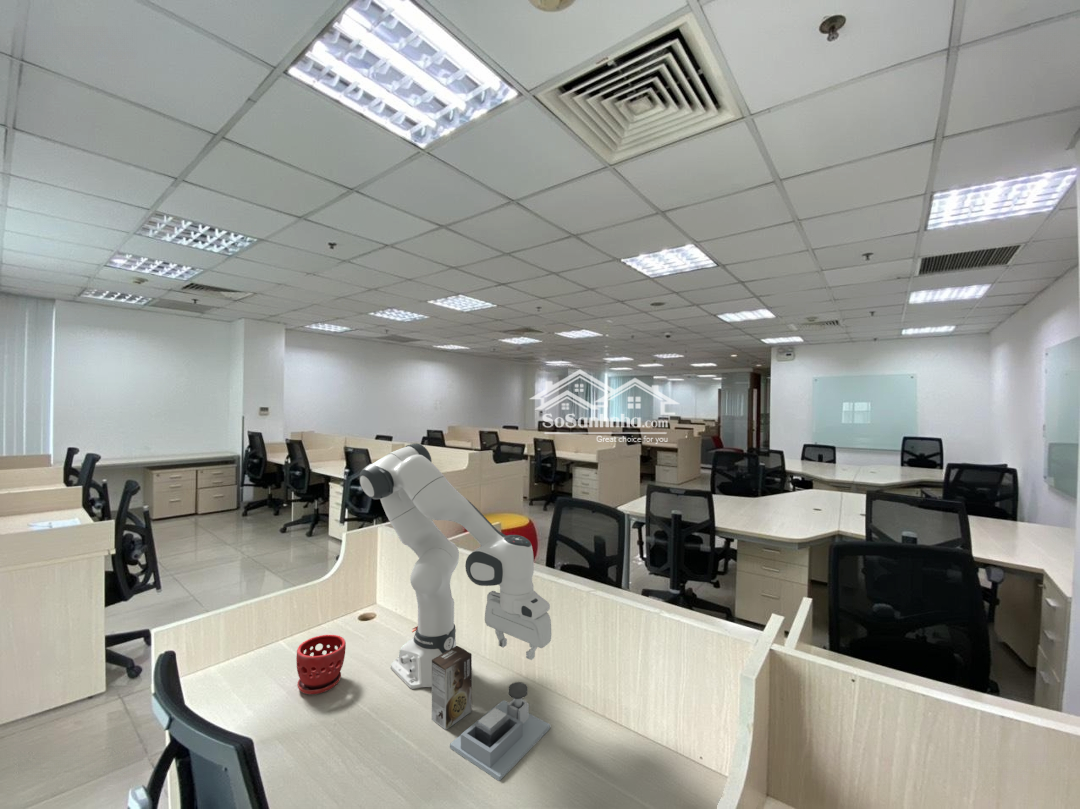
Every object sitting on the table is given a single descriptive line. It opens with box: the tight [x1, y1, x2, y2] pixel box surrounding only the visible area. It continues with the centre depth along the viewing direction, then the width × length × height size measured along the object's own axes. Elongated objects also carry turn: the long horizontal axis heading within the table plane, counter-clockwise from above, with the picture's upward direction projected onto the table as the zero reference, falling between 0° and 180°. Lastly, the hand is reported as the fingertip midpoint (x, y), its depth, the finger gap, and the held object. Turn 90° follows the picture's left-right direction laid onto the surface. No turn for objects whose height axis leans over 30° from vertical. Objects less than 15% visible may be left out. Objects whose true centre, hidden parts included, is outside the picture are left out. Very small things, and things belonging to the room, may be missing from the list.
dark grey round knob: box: [508, 681, 529, 708], centre depth 116 cm, size 5×5×5 cm
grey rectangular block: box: [475, 708, 510, 748], centre depth 108 cm, size 5×7×6 cm
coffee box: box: [431, 645, 473, 730], centre depth 119 cm, size 9×6×16 cm
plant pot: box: [295, 634, 347, 695], centre depth 132 cm, size 13×13×12 cm
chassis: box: [449, 698, 551, 782], centre depth 111 cm, size 16×20×5 cm
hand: (516, 651), depth 116 cm, fingers open, 8 cm apart
